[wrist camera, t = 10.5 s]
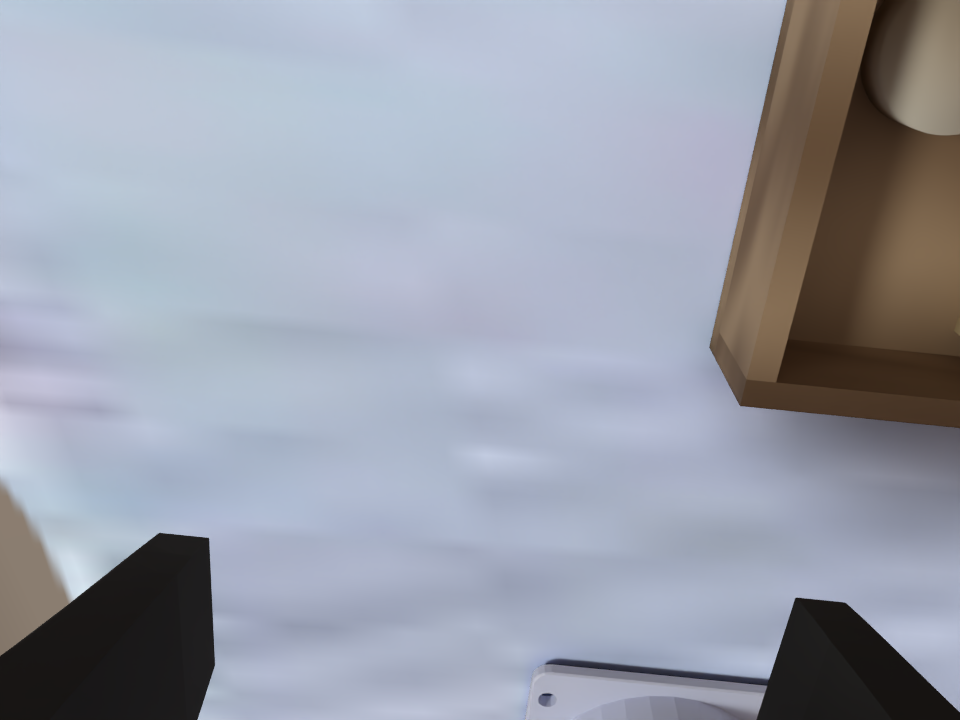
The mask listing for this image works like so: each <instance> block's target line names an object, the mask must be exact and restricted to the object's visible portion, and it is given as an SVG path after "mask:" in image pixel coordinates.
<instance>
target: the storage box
mask: <svg viewBox="0 0 960 720" xmlns="http://www.w3.org/2000/svg"><path fill="white" fill-rule="evenodd" d="M709 348H710V349H711V351H712V353H713V355H714V357H715V359H716V361H717V363H718V365H719V367H720V369H721V370H722V372H723V374H724V376H725V378H726V380H727V382H728V384H729V386H730V388H731V390H732V392H733V393H734V395H735V397H736V399H737V401H738V403H739V405H740V406H746V407H756V408H766V409H776V410H786V411H796V412H806V413H816V414H826V415H836V416H846V417H856V418H866V419H876V420H886V421H896V422H906V423H916V424H926V425H936V426H946V427H956V428H960V0H787V4H786V8H785V13H784V17H783V22H782V26H781V30H780V35H779V39H778V44H777V48H776V53H775V57H774V62H773V66H772V71H771V75H770V80H769V84H768V89H767V93H766V97H765V102H764V106H763V111H762V115H761V120H760V124H759V129H758V133H757V138H756V142H755V147H754V151H753V155H752V160H751V164H750V169H749V173H748V178H747V182H746V187H745V191H744V196H743V200H742V205H741V209H740V213H739V218H738V222H737V227H736V231H735V236H734V240H733V245H732V249H731V254H730V258H729V263H728V267H727V271H726V276H725V280H724V285H723V289H722V294H721V298H720V303H719V307H718V312H717V316H716V321H715V325H714V329H713V334H712V338H711V343H710V347H709Z"/></svg>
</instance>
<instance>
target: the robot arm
mask: <svg viewBox="0 0 960 720" xmlns="http://www.w3.org/2000/svg"><path fill="white" fill-rule="evenodd" d="M214 666H215V657H214V636H213V614H212V593H211V572H210V550H209V538H204V537H194V536H184V535H174V534H164V533H159V534H157V535H156V536H155V537H153V538H152V539H151V540H150V541H148V542H147V543H146V544H144V545H143V546H142V547H140V548H139V549H138V550H136V551H135V552H134V553H133V554H131V555H130V556H129V557H128V558H126V559H125V560H124V561H122V562H121V563H120V564H119V565H117V566H116V567H115V568H114V569H112V570H111V571H110V572H109V573H107V574H106V575H105V576H104V577H102V578H101V579H100V580H99V581H97V582H96V583H95V584H94V585H92V586H91V587H90V588H89V589H87V590H86V591H85V592H84V593H82V594H81V595H80V596H78V597H77V598H76V599H75V600H73V601H72V602H71V603H70V604H68V605H67V606H66V607H64V608H63V609H62V610H61V611H59V612H58V613H57V614H55V615H54V616H53V617H51V618H50V619H49V620H48V621H46V622H45V623H44V624H42V625H41V626H40V627H38V628H37V629H36V630H34V631H33V632H32V633H30V634H29V635H28V636H26V637H25V638H24V639H22V640H21V641H20V642H19V643H17V644H16V645H15V646H13V647H12V648H11V649H9V650H8V651H6V652H5V653H4V654H2V655H1V656H0V720H197V719H198V716H199V713H200V710H201V707H202V704H203V701H204V698H205V694H206V691H207V688H208V685H209V682H210V679H211V676H212V672H213V669H214ZM544 693H550V694H553V695H551V696H543V695H542V694H544ZM525 720H960V712H959V711H958V710H957V709H956V708H955V707H953V706H952V705H951V704H950V703H949V702H948V701H947V700H946V699H945V698H944V697H943V696H942V695H941V694H940V693H939V692H938V691H937V690H936V689H935V688H934V687H933V686H932V685H931V684H930V683H929V682H928V681H927V680H926V679H925V678H924V677H923V676H922V675H921V674H920V673H918V672H917V671H916V670H915V669H914V668H913V667H912V666H911V665H910V664H909V663H908V662H907V661H906V660H905V659H904V658H903V657H902V656H901V655H900V654H899V653H898V652H897V651H896V650H895V649H894V648H893V647H892V646H891V645H890V644H889V643H888V642H887V641H886V640H885V639H884V638H883V637H882V636H881V635H880V634H879V633H877V632H876V631H875V630H874V629H873V628H872V627H871V626H870V625H869V624H868V623H867V622H866V621H865V620H864V619H863V618H862V617H861V616H860V615H858V614H857V613H856V612H855V611H854V610H853V609H852V608H851V607H850V606H848V605H847V604H846V603H843V602H833V601H824V600H814V599H804V598H795V601H794V604H793V608H792V611H791V614H790V617H789V620H788V623H787V626H786V629H785V632H784V635H783V639H782V642H781V645H780V648H779V651H778V654H777V657H776V660H775V663H774V666H773V670H772V673H771V676H770V679H769V682H768V685H767V686H764V685H754V684H744V683H734V682H724V681H714V680H704V679H694V678H684V677H674V676H664V675H654V674H644V673H633V672H623V671H613V670H603V669H593V668H583V667H573V666H563V665H553V664H548V665H542V666H540V667H538V668H537V669H535V670H534V672H533V674H532V677H531V683H530V690H529V696H528V703H527V709H526V715H525Z"/></svg>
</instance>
